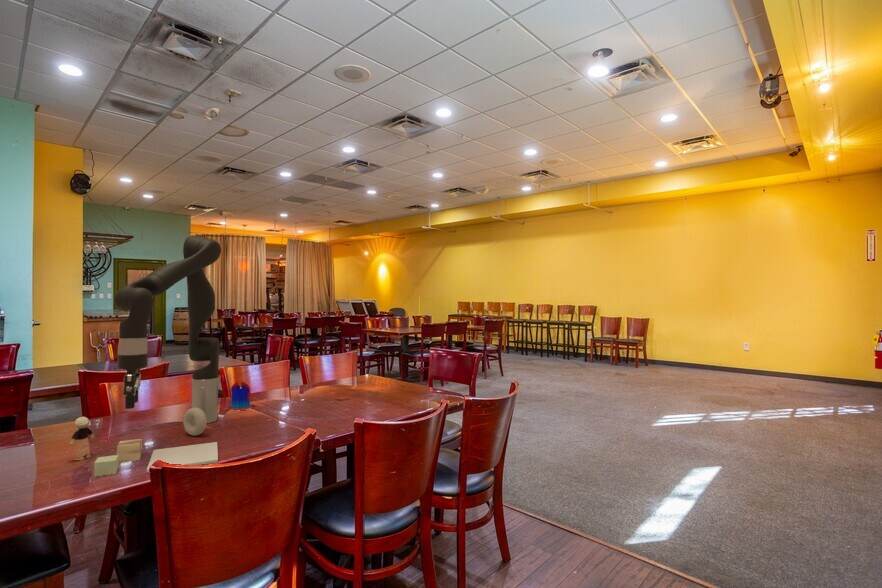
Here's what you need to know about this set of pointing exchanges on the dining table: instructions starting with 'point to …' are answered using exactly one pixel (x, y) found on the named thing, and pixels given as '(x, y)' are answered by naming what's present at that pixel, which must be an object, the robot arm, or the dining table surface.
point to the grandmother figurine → (81, 439)
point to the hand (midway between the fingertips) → (131, 405)
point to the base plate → (187, 455)
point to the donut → (189, 421)
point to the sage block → (106, 465)
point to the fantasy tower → (240, 397)
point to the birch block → (129, 450)
